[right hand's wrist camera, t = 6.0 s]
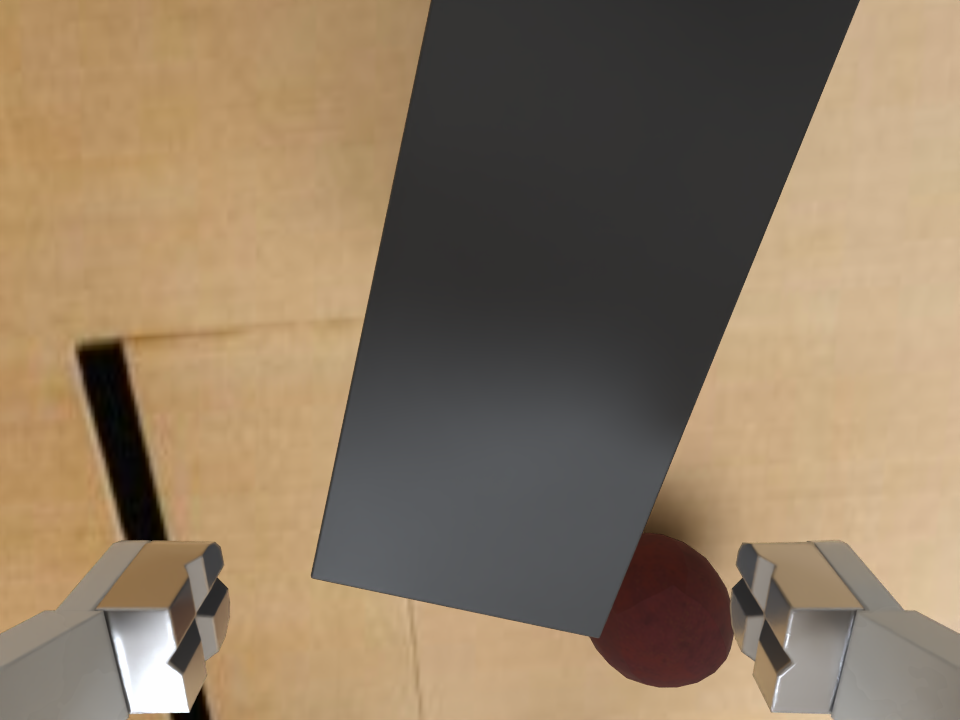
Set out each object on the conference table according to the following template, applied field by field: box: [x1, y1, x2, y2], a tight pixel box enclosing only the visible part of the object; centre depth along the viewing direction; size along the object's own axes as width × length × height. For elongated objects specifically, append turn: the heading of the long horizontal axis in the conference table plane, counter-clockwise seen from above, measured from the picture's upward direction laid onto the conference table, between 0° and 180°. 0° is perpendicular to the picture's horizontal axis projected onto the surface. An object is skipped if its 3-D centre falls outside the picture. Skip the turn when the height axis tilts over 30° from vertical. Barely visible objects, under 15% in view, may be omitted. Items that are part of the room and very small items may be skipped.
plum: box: [590, 533, 734, 687], centre depth 34 cm, size 7×8×7 cm
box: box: [311, 0, 860, 638], centre depth 15 cm, size 24×6×10 cm, turn 165°
